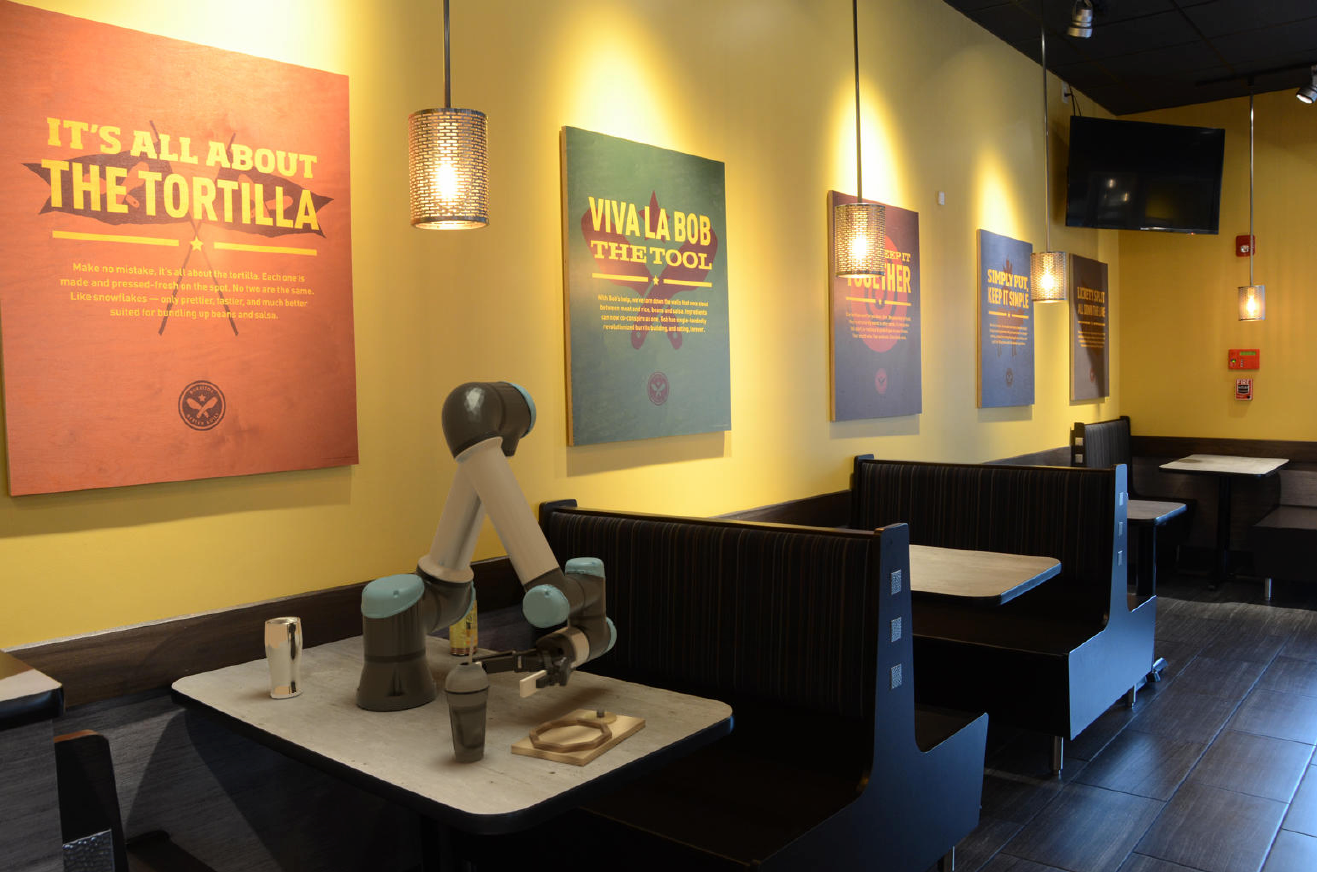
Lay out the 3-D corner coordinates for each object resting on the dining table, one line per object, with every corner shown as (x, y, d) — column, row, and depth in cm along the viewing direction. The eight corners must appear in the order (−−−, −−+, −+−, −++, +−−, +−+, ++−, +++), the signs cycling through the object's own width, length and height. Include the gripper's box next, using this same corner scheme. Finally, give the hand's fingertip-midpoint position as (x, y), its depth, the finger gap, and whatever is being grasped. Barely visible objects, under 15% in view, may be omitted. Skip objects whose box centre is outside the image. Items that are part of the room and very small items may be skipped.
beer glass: (259, 698, 192) (256, 623, 191) (285, 687, 198) (281, 615, 197) (287, 701, 189) (283, 625, 188) (312, 691, 196) (308, 617, 195)
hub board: (511, 752, 159) (510, 734, 159) (578, 715, 176) (578, 698, 176) (583, 766, 152) (582, 747, 152) (645, 725, 169) (644, 709, 169)
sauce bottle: (471, 656, 218) (468, 569, 217) (445, 656, 219) (442, 569, 218) (482, 649, 224) (479, 564, 223) (457, 648, 225) (454, 564, 224)
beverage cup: (449, 750, 160) (445, 631, 160) (494, 747, 161) (489, 629, 160) (443, 767, 153) (438, 642, 152) (490, 764, 154) (485, 640, 153)
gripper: (618, 679, 173) (551, 716, 154) (505, 664, 185) (430, 697, 166) (617, 638, 173) (550, 670, 154) (504, 626, 184) (428, 654, 165)
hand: (488, 684), depth 160 cm, fingers open, 13 cm apart
